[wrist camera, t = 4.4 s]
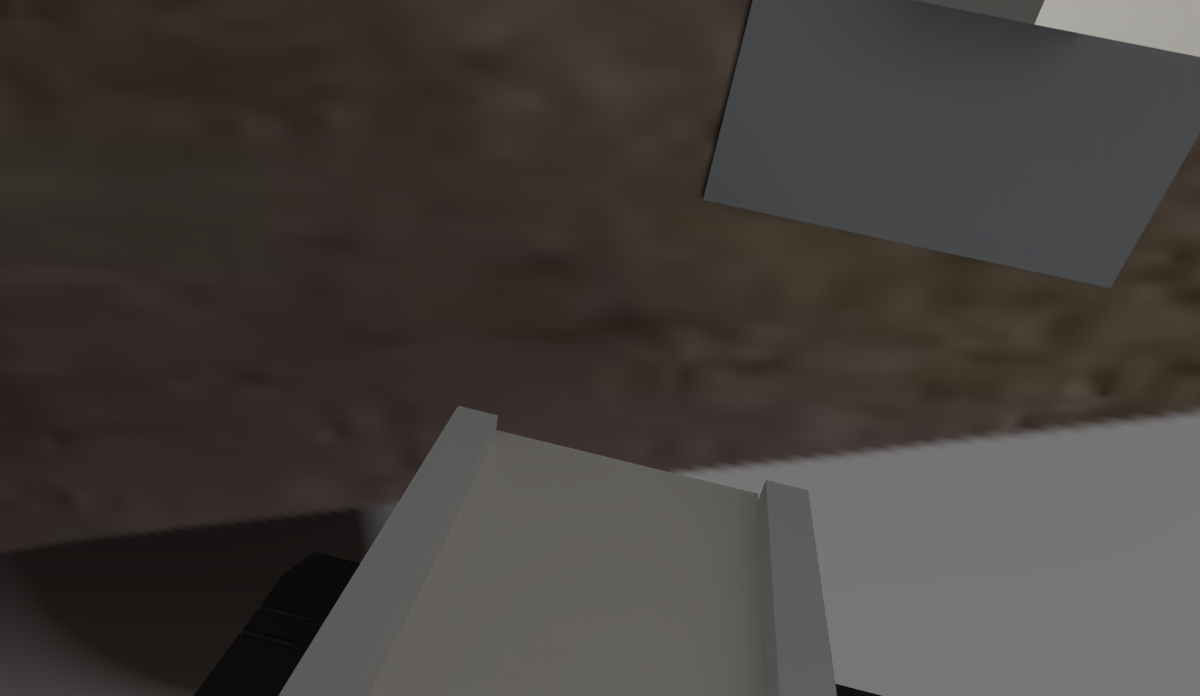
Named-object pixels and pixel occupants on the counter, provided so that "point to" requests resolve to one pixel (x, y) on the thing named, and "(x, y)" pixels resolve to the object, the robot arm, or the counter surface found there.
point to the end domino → (586, 585)
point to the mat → (955, 131)
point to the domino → (1104, 19)
